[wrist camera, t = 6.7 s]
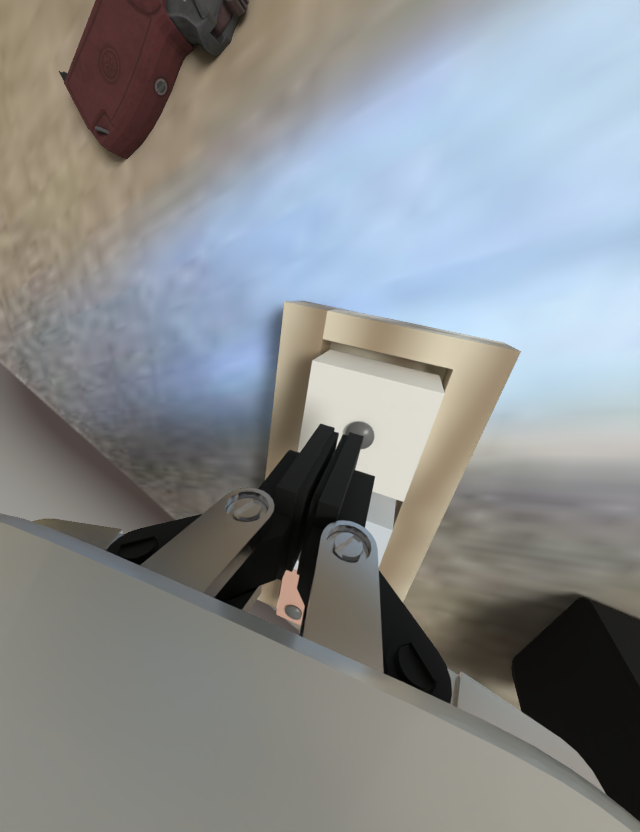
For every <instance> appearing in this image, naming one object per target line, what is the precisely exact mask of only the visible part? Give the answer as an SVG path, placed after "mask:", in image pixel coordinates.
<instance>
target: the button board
mask: <svg viewBox="0 0 640 832" xmlns="http://www.w3.org/2000/svg"><path fill="white" fill-rule="evenodd" d="M330 349H331V350H335V351H339V352H343V353H347V354H352V355H356V356H360V357H364V358H368V359H373V360H377V361H381V362H385V363H389V364H393V365H398V366H402V367H406V368H410V369H414V370H418V371H423V372H427V373H431V374H435V375H439V376H440V379H441V382H442V386H443V389H444V393H445V395H444V397H443V400H442V402H441V405H440V408H439V410H438V413H437V416H436V418H435V421H434V423H433V426H432V429H431V431H430V434H429V437H428V439H427V442H426V444H425V447H424V450H423V452H422V455H421V458H420V460H419V463H418V466H417V468H416V471H415V473H414V476H413V479H412V481H411V484H410V487H409V489H408V492H407V494H406V497H405V500H404V502H402V501H399V500H396V504H395V514H394V524H393V531H392V534H391V536H390V539H389V542H388V544H387V547H386V550H385V552H384V555H383V557H382V560H381V563H380V565H379V571H380V572H381V573H382V575H383V576H384V577H385V579H386V580H387V582H388V583H389V584H390V586H391V587H392V589H393V590H394V591H395V593H396V594H397V595H398V597H399V598H400V600H401V601H402V602H403V601H404V599H405V597H406V595H407V593H408V590H409V588H410V586H411V584H412V582H413V580H414V578H415V576H416V573H417V571H418V569H419V567H420V565H421V563H422V561H423V559H424V556H425V554H426V552H427V550H428V548H429V546H430V544H431V542H432V539H433V537H434V535H435V533H436V531H437V529H438V527H439V525H440V522H441V520H442V518H443V516H444V514H445V512H446V510H447V507H448V505H449V503H450V501H451V499H452V497H453V495H454V493H455V490H456V488H457V486H458V484H459V482H460V480H461V478H462V476H463V473H464V471H465V469H466V467H467V465H468V463H469V461H470V459H471V456H472V454H473V452H474V450H475V448H476V446H477V444H478V441H479V439H480V437H481V435H482V433H483V431H484V429H485V427H486V424H487V422H488V420H489V418H490V416H491V414H492V412H493V410H494V407H495V405H496V403H497V401H498V399H499V397H500V395H501V393H502V390H503V388H504V386H505V384H506V382H507V380H508V378H509V376H510V373H511V371H512V369H513V367H514V365H515V363H516V361H517V358H518V356H519V354H520V352H521V351H519V350H517V349H515V348H513V347H511V346H509V345H507V344H505V343H503V342H499V341H494V340H489V339H484V338H479V337H474V336H470V335H465V334H460V333H455V332H450V331H446V330H441V329H436V328H431V327H426V326H421V325H417V324H412V323H407V322H402V321H397V320H393V319H388V318H383V317H378V316H373V315H368V314H364V313H359V312H354V311H349V310H344V309H340V308H335V307H330V306H325V305H320V304H315V303H311V302H306V301H288V302H284V310H283V319H282V328H281V337H280V347H279V356H278V365H277V374H276V383H275V392H274V401H273V411H272V420H271V429H270V438H269V447H268V456H267V466H266V475H265V480H266V478H267V477H268V476H269V475H270V473H271V472H272V471H273V470H274V468H275V467H276V466H277V464H278V463H279V462H280V461H281V459H282V458H283V457H284V455H285V454H286V453H287V452H288V451H289V450H293V451H296V452H298V446H299V440H300V434H301V427H302V421H303V415H304V409H305V403H306V396H307V390H308V384H309V378H310V372H311V365H312V360H314V359H315V358H317V357H319V356H320V355H322V354H324V353H325V352H327V351H329V350H330ZM281 584H282V580H278V579H276V580H274V581H272V582H269V583H266V584H264V588H263V590H262V592H261V594H260V596H259V597H258V598H257V600H260V601H262V602H264V603H266V604H268V605H271V606H273V607H275V608H277V607H278V601H279V596H280V590H281Z"/></svg>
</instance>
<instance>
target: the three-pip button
mask: <svg viewBox="0 0 640 832" xmlns="http://www.w3.org/2000/svg"><path fill="white" fill-rule="evenodd" d="M298 580H299V575H298V574H297V570H295V569H293V571H292V572H290V571H288V570H286V572H285V574H284V576H283V578H282V584H281V590H280V596H279V601H278V607H277V613H276V614H277V615H279V616H281V617H283V618H285V619H288V620H290V621H292V622H294V623H296V624H299V625H301V622H302V616H303V611H304V607H305V606H304V603H303V601H302V599H301V597H300V594H299V592H298V590H297V585H298Z"/></svg>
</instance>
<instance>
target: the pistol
mask: <svg viewBox="0 0 640 832" xmlns="http://www.w3.org/2000/svg"><path fill="white" fill-rule="evenodd" d="M248 4H249V0H96V1H95V4H94V6H93V9H92V12H91V14H90V17H89V19H88V22H87V25H86V27H85V30H84V32H83V35H82V37H81V40H80V43H79V45H78V48H77V50H76V53H75V56H74V58H73V61H72V63H71V66H70V69H69V71H68V74H67V73H66V72H62V73H61V72H60V71H59V73H60V75H61V76H62V78H63V80H64V84H65V86H66V88H67V90H68V91H69V93H70V95H71V97H72V99H73V101H74V103H75V105H76V106H77V108H78V110H79V112H80V114H81V116H82V118H83V120H84V122H85V123H86V125H87V127H88V129H89V130H90V131H91V132H92V133H93V134H94V136H95V137H96V139H97V140H98V141H99V143H100V144H101V145H102V146H103V147H105V148H106V149H107V150H109V151H111V152H113V153H114V154H116V155H118V156H120V157H123V158H126V159H127V158H128V157H129V156H130V155H131V154H132V153H133V152H134V151H135V150H136V149H137V148H138V147H139V146H140V145H141V144H142V143H143V142H144V140H145V139H146V137H147V136H148V135H149V133H150V132H151V130H152V129H153V127H154V125H155V124H156V122H157V120H158V118H159V116H160V115H161V113H162V111H163V108H164V106H165V104H166V102H167V100H168V98H169V95H170V93H171V91H172V89H173V86H174V83H175V80H176V78H177V75H178V72H179V70H180V67H181V65H182V63H183V60H184V58H185V56H186V55H187V54H188V53H189V52H191V51H192V50H193V49H195V48H194V45H196V44H201V45H203V47H204V48H205V50H206V51H207V52H208V53H209V54H212V55H214V56H217V55H220V54H221V53H222V51H223V50H224V49H225V48H226V46H227V45H228V44H230V42H231V40H232V36H233V33H234V30H235V27H236V24H237V22H238V19H239V16H240V15H242V14H243V13H244V12H245V10H246V9H247V5H248Z"/></svg>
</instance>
